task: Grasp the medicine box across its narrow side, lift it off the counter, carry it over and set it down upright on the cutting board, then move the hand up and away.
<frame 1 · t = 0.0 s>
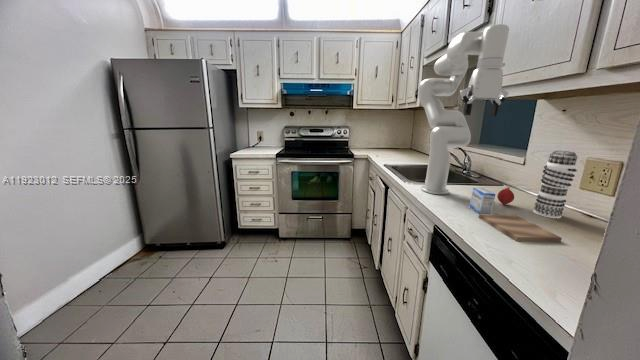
hand: (479, 115, 93), 37 cm above the worktop, tool pointing down, fingers open, 9 cm apart
red oval piece: (503, 205, 109), on the worktop
cutting board: (515, 228, 85), on the worktop
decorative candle: (546, 214, 100), on the worktop
medicine box: (479, 211, 101), on the worktop
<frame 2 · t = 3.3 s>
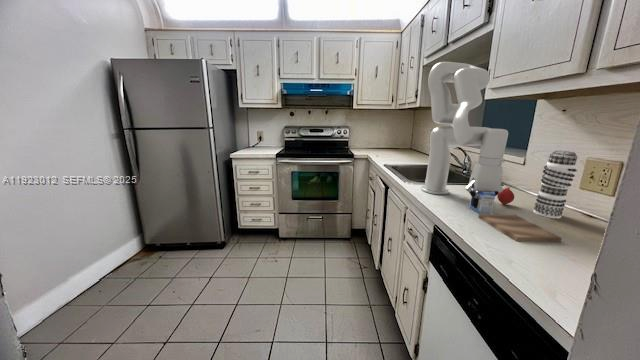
hand: (480, 206, 100), 2 cm above the worktop, tool pointing down, fingers closed on medicine box, 4 cm apart
medicine box: (479, 211, 101), on the worktop, touching gripper
everything else where it was.
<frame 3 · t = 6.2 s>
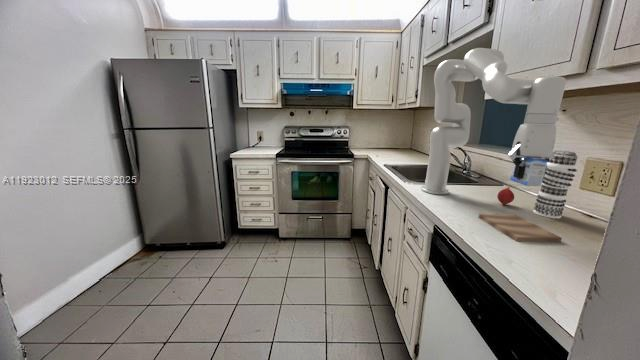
hand: (525, 177, 82), 18 cm above the worktop, tool pointing down, fingers closed on medicine box, 4 cm apart
medicine box: (524, 183, 82), point 16 cm above the worktop, touching gripper
everything else where it was.
when the fingers open (5 cm above the worktop, at t = 9.0 s): medicine box drops 1 cm, resting on cutting board.
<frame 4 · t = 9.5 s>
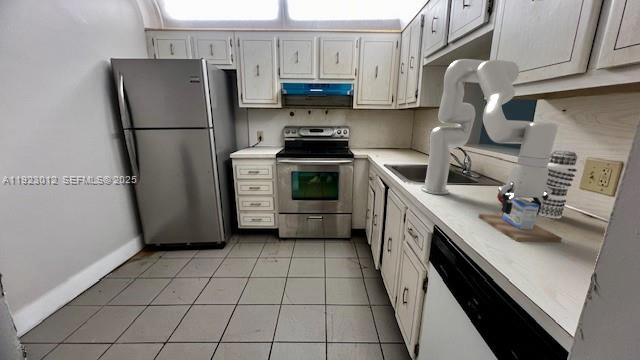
hand: (519, 212, 84), 6 cm above the worktop, tool pointing down, fingers open, 9 cm apart
medicine box: (516, 225, 85), point 1 cm above the worktop, touching cutting board
everything else where it was.
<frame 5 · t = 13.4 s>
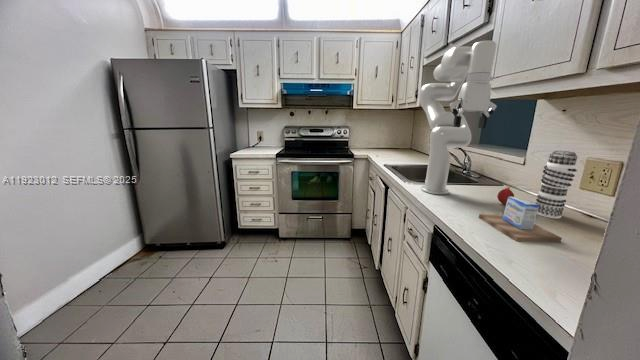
hand: (469, 127, 96), 32 cm above the worktop, tool pointing down, fingers open, 9 cm apart
nothing on the worktop moved.
at the end: medicine box inside the target area on the cutting board (0.2 cm from its centre), point 1.3 cm above the cutting board's base; medicine box tilted 0°; the gripper is holding nothing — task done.
